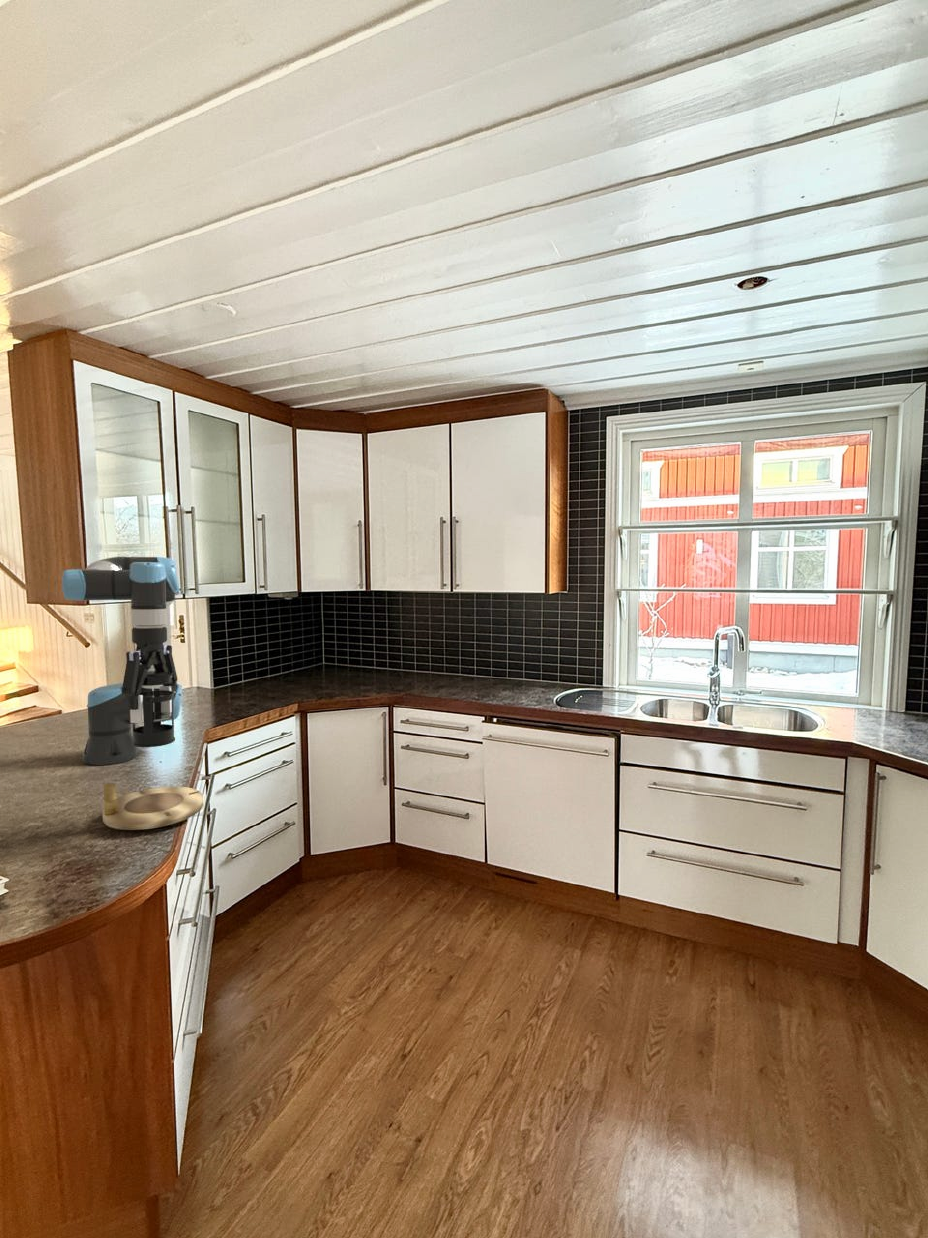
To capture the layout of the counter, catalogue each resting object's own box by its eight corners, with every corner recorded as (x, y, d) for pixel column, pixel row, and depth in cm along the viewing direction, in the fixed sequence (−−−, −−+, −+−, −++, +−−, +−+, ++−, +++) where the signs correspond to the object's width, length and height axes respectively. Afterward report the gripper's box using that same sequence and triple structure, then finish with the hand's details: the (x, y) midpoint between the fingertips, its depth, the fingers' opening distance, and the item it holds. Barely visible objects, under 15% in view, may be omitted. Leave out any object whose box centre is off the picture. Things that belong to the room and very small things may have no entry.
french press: (137, 737, 150) (136, 646, 149) (178, 735, 153) (177, 646, 151) (125, 750, 139) (123, 652, 138) (170, 748, 142) (168, 652, 140)
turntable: (184, 787, 163) (183, 755, 162) (217, 811, 147) (216, 776, 147) (92, 809, 148) (90, 774, 147) (117, 838, 132) (116, 799, 131)
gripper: (164, 622, 156) (166, 706, 157) (100, 630, 133) (104, 728, 135) (191, 622, 155) (193, 707, 156) (131, 631, 132) (134, 730, 134)
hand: (152, 717), depth 146 cm, fingers closed on french press, 10 cm apart
